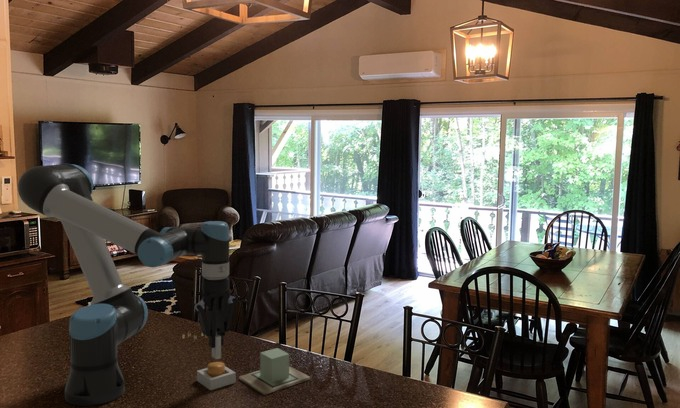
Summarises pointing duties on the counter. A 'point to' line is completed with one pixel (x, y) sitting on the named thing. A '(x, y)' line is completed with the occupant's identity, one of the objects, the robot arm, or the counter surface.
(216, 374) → the button
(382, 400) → the counter surface
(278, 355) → the sage block
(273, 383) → the beige flat rectangular board
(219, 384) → the button housing
